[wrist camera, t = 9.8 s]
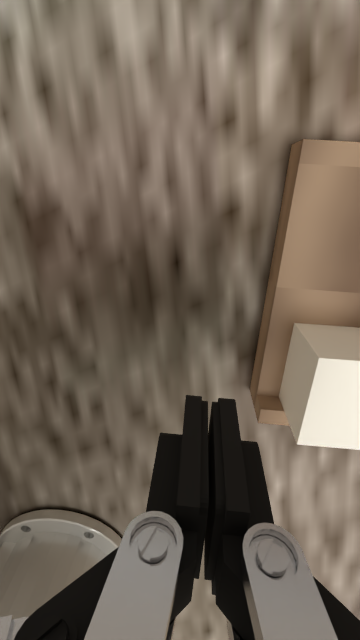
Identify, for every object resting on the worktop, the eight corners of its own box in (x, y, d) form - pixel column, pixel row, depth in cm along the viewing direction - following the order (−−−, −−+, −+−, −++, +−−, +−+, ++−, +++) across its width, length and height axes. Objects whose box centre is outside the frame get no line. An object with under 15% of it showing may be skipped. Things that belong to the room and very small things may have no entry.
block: (278, 396, 20) (296, 444, 16) (294, 322, 18) (318, 357, 14) (360, 403, 20) (397, 452, 16) (384, 329, 18) (433, 366, 14)
